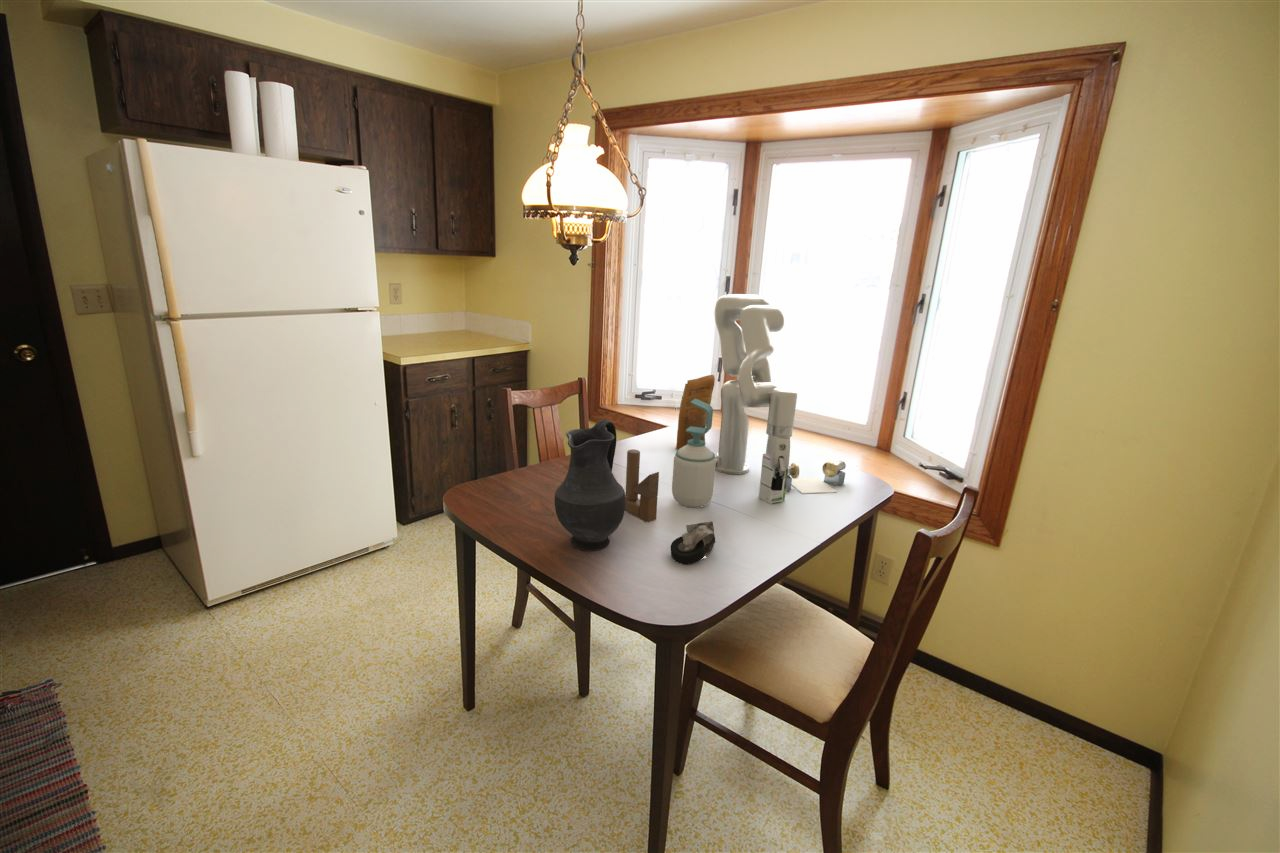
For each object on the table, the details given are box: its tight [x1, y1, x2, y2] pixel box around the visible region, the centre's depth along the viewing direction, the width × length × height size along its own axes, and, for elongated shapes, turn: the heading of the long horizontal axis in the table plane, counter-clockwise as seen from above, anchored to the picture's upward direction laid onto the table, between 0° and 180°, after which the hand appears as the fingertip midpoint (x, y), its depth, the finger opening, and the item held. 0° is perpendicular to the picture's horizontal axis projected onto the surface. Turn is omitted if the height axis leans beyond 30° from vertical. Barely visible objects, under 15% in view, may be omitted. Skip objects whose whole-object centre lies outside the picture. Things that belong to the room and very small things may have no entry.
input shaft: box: [786, 462, 800, 491], centre depth 180 cm, size 8×5×8 cm, turn 101°
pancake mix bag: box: [675, 374, 716, 450], centre depth 213 cm, size 7×19×28 cm, turn 131°
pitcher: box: [554, 419, 626, 552], centre depth 137 cm, size 17×21×30 cm
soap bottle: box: [671, 399, 716, 509], centre depth 162 cm, size 12×12×31 cm
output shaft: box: [821, 460, 847, 487], centre depth 185 cm, size 8×5×8 cm, turn 131°
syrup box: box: [758, 453, 788, 505], centre depth 169 cm, size 6×6×14 cm
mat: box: [791, 477, 837, 495], centre depth 183 cm, size 12×12×1 cm
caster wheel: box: [669, 520, 717, 565], centre depth 135 cm, size 7×11×10 cm
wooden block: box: [625, 449, 660, 523], centre depth 154 cm, size 4×11×18 cm, turn 42°
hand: (772, 484), depth 169 cm, fingers closed on syrup box, 7 cm apart
